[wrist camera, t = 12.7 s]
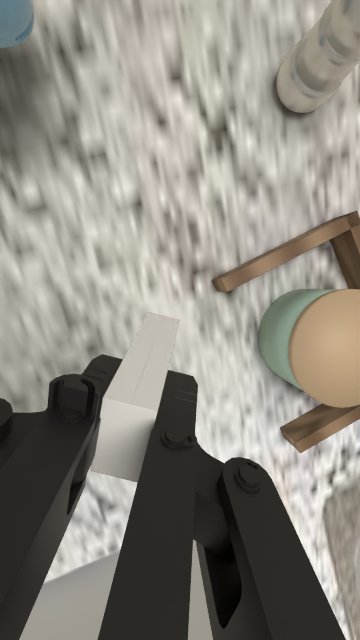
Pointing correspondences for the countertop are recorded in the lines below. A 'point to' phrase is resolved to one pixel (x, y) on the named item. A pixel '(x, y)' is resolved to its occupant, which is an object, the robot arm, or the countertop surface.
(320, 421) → the walnut bay
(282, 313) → the green canister
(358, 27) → the plastic bottle
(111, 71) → the countertop surface
